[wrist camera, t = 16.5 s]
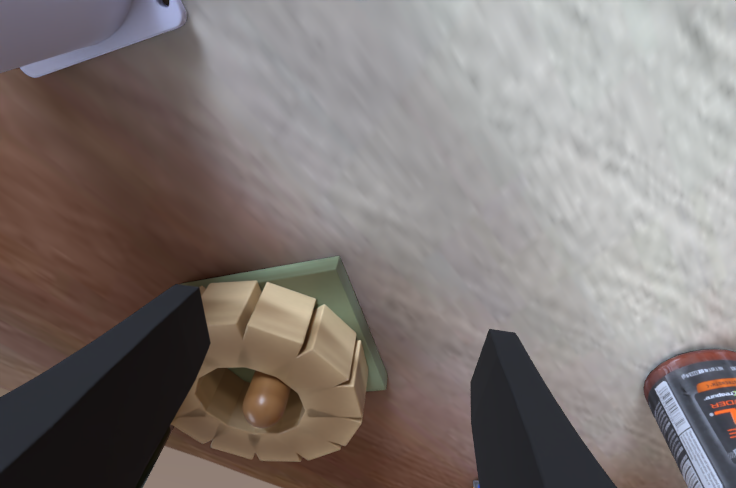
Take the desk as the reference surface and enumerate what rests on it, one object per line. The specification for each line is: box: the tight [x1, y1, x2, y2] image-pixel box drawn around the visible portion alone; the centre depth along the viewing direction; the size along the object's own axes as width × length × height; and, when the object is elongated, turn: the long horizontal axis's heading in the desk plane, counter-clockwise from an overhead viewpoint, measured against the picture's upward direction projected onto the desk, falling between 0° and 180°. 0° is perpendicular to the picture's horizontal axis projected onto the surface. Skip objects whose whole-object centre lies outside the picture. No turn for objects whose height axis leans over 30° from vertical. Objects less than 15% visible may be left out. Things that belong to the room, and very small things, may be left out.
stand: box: [180, 256, 387, 428], centre depth 24 cm, size 10×10×6 cm
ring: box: [171, 280, 368, 462], centre depth 25 cm, size 13×13×3 cm
